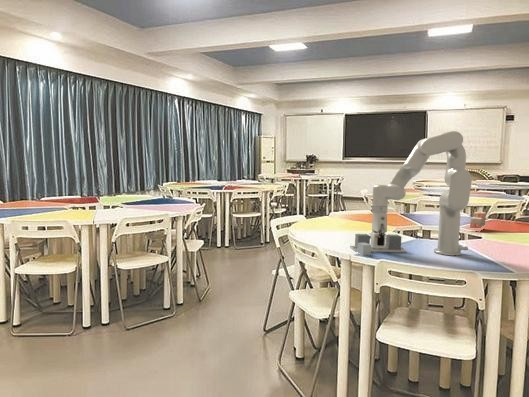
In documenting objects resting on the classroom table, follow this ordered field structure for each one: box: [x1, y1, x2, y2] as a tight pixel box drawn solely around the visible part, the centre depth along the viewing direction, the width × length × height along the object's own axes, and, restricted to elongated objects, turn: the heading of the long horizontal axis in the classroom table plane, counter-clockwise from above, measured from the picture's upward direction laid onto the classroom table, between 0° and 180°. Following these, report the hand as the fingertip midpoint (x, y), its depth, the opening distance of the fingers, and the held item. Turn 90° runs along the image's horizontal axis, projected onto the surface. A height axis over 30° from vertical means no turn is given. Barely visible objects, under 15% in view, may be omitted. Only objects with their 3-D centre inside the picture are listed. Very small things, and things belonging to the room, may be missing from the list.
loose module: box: [370, 231, 387, 248], centre depth 217 cm, size 6×5×7 cm
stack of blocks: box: [469, 211, 487, 229], centre depth 296 cm, size 21×6×12 cm, turn 145°
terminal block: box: [356, 243, 372, 256], centre depth 206 cm, size 4×6×5 cm, turn 14°
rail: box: [349, 233, 407, 253], centre depth 217 cm, size 26×9×8 cm, turn 93°
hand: (377, 243), depth 217 cm, fingers open, 7 cm apart
